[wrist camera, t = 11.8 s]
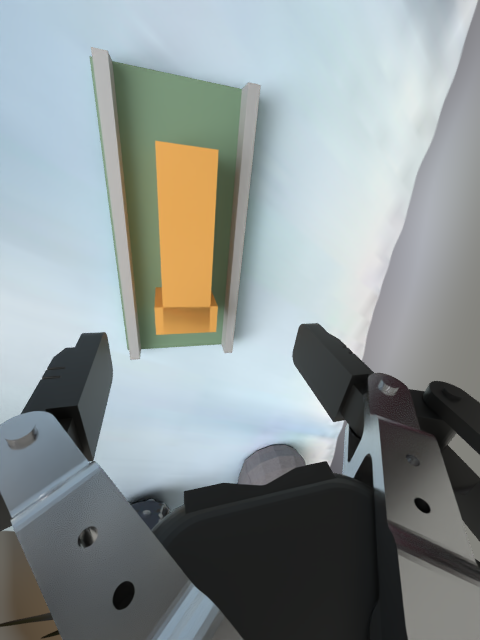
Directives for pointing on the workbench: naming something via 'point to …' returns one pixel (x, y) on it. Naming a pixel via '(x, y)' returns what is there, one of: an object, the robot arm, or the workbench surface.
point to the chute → (186, 238)
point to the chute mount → (141, 184)
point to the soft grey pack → (269, 464)
